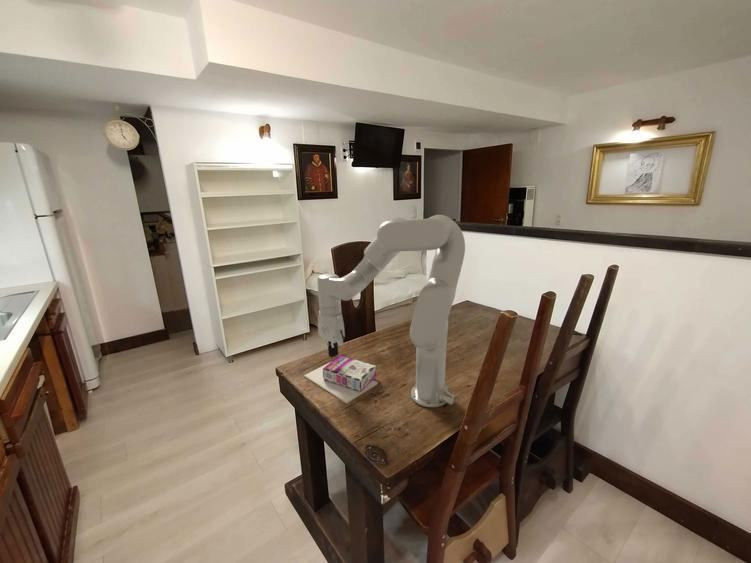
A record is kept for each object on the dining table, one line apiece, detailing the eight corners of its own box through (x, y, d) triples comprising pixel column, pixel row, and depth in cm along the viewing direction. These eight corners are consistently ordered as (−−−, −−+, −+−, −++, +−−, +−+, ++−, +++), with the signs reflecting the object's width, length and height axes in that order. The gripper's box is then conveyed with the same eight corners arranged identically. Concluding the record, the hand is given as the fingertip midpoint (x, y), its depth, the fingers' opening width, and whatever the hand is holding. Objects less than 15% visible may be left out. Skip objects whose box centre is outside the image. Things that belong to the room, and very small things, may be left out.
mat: (377, 383, 117) (377, 382, 117) (346, 403, 107) (346, 402, 107) (335, 361, 133) (334, 359, 133) (304, 376, 123) (304, 375, 122)
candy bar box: (322, 380, 119) (360, 392, 111) (321, 368, 118) (359, 380, 110) (341, 366, 128) (376, 376, 120) (340, 354, 127) (376, 364, 119)
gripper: (309, 307, 117) (313, 352, 122) (335, 317, 107) (338, 366, 112) (325, 301, 122) (328, 345, 127) (352, 310, 112) (354, 358, 117)
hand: (333, 355), depth 119 cm, fingers closed
